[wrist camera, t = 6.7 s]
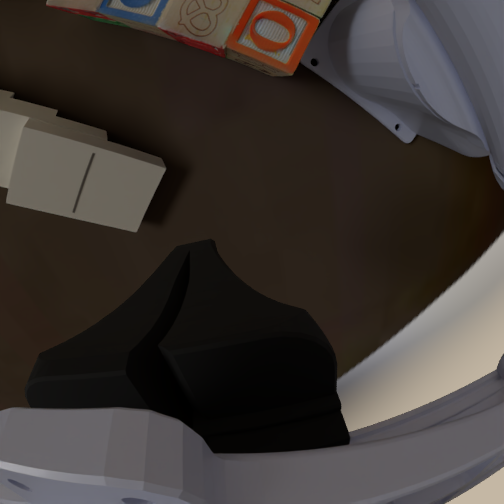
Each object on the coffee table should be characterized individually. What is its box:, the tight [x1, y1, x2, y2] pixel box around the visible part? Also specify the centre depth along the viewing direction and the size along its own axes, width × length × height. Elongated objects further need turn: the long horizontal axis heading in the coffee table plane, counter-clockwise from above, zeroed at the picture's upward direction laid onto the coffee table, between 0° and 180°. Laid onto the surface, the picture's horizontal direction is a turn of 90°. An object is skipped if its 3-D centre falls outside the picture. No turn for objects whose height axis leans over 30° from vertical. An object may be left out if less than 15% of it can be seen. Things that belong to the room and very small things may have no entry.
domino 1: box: [0, 102, 107, 188], centre depth 16 cm, size 2×5×9 cm
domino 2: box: [6, 118, 166, 232], centre depth 17 cm, size 2×5×9 cm
